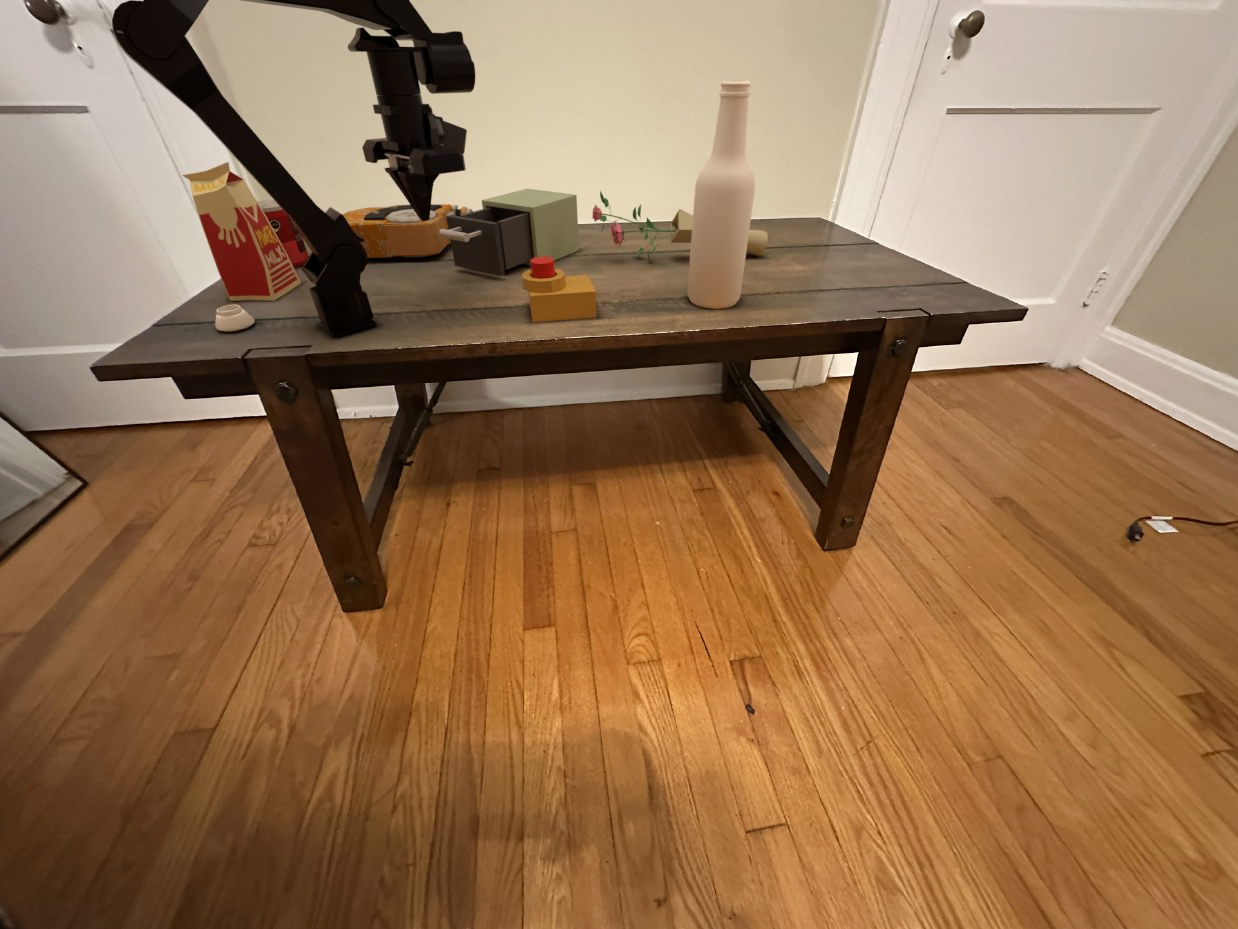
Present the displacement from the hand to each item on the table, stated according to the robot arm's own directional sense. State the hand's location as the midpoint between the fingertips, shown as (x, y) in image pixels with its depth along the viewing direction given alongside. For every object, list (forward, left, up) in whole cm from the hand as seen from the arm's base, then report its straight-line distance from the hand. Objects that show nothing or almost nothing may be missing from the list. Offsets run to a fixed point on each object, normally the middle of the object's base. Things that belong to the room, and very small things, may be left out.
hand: (425, 220), depth 80 cm
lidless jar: (-27, +14, -13) cm, 33 cm away
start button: (+10, -15, -7) cm, 20 cm away
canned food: (-10, +42, -13) cm, 45 cm away
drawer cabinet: (+29, +12, -13) cm, 34 cm away
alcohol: (+33, -31, -13) cm, 47 cm away
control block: (+12, -16, -13) cm, 24 cm away
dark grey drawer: (+16, +9, -12) cm, 22 cm away
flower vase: (+47, -12, -13) cm, 50 cm away
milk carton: (-19, +28, -13) cm, 36 cm away
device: (+13, +35, -13) cm, 40 cm away
